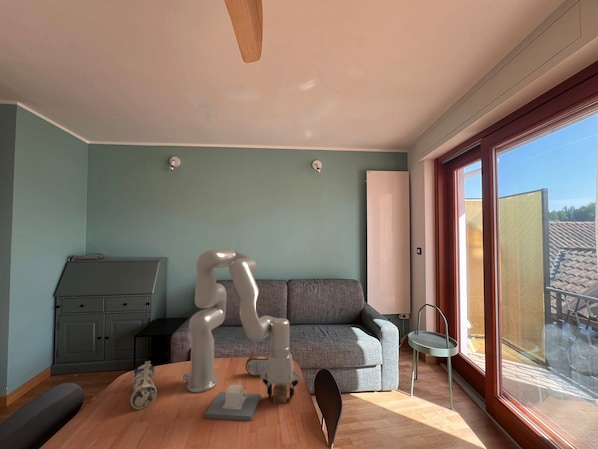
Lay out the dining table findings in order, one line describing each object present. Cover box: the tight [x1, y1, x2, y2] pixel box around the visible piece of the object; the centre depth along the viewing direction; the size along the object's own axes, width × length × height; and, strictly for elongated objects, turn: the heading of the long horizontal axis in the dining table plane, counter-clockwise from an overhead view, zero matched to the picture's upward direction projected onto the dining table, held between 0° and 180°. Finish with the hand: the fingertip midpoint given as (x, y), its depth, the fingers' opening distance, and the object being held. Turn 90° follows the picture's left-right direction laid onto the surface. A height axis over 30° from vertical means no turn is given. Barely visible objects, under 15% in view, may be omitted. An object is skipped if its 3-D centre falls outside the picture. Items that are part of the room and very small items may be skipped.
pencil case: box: [129, 360, 157, 411], centre depth 104 cm, size 22×8×10 cm, turn 31°
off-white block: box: [225, 384, 244, 407], centre depth 96 cm, size 5×5×5 cm
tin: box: [245, 355, 269, 377], centre depth 119 cm, size 15×3×8 cm, turn 89°
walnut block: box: [272, 383, 289, 404], centre depth 101 cm, size 5×5×5 cm
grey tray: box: [204, 391, 262, 422], centre depth 96 cm, size 17×13×2 cm
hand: (280, 396), depth 101 cm, fingers open, 7 cm apart
